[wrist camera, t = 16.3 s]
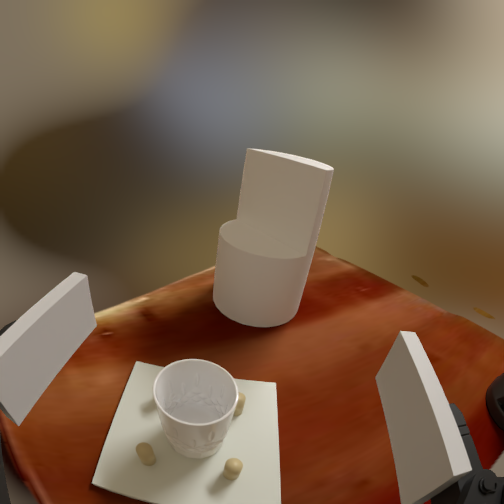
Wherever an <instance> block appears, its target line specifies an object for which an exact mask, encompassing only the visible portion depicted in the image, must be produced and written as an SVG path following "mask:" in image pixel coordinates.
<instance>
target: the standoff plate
mask: <svg viewBox="0 0 504 504" xmlns="http://www.w3.org/2000/svg"><path fill="white" fill-rule="evenodd" d="M163 368H164V367H161V366H156V365H151V364H147V363H143V362H138V361H136V363H135V366H134V368H133V371H132V373H131V375H130V378H129V380H128V383H127V385H126V388H125V390H124V393H123V395H122V398H121V401H120V403H119V406H118V408H117V411H116V414H115V416H114V419H113V422H112V425H111V427H110V430H109V433H108V436H107V438H106V441H105V444H104V447H103V450H102V453H101V456H100V459H99V462H98V465H97V468H96V471H95V474H94V477H93V481H92V484H94V485H95V486H98V487H100V488H103V489H106V490H108V491H111V492H114V493H117V494H120V495H124V496H127V497H130V498H133V499H137V500H141V501H144V502H148V503H152V504H281V489H280V461H279V437H278V416H277V396H276V383H271V382H260V381H250V380H241V379H234V380H235V382H236V384H237V387H238V392H239V397H238V402H237V405H236V408H235V412H234V415H233V418H232V421H231V424H230V427H229V430H228V432H227V435H226V437H225V438H224V440H223V444H222V447H221V448H220V449H219V450H218V451H217V452H216V453H215V454H214V455H212V456H209V457H205V458H202V459H195V458H187V457H185V456H183V455H181V454H179V453H177V452H175V450H174V449H173V448H172V447H171V445H170V444H169V443H168V441H167V437H166V435H165V433H164V431H163V428H162V425H161V422H160V419H159V416H158V412H157V408H156V405H155V401H154V398H153V392H152V388H153V383H154V380H155V378H156V376H157V374H158V373H159V372H160V371H161V370H162V369H163Z"/></svg>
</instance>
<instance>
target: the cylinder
mask: <svg viewBox="0 0 504 504" xmlns="http://www.w3.org/2000/svg"><path fill="white" fill-rule="evenodd" d="M333 171H334V169H333V168H332V167H331V166H329V165H326V164H324V163H321V162H317V161H314V160H311V159H307V158H304V157H299V156H295V155H290V154H286V153H280V152H274V151H267V150H260V149H249V148H247V152H246V158H245V165H244V171H243V178H242V185H241V191H240V198H239V206H238V212H237V219H236V220H232V221H229V222H227V223H225V224H223V225H222V226H221V228H220V232H219V241H218V249H217V259H216V268H215V277H214V287H213V301H214V303H215V305H216V307H217V308H218V309H219V310H220V311H221V313H222V314H224V315H225V316H227V317H228V318H230V319H231V320H234V321H236V322H239V323H241V324H244V325H249V326H254V327H273V326H279V325H281V324H284V323H286V322H288V321H290V320H291V319H292V318H293V317H294V316H295V314H296V312H297V310H298V307H299V303H300V300H301V297H302V293H303V290H304V286H305V283H306V279H307V276H308V272H309V268H310V265H311V261H312V257H313V254H314V250H315V246H316V242H317V238H318V235H319V231H320V226H321V223H322V219H323V215H324V210H325V206H326V202H327V198H328V194H329V189H330V185H331V180H332V175H333Z"/></svg>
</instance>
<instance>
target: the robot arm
mask: <svg viewBox="0 0 504 504" xmlns="http://www.w3.org/2000/svg"><path fill="white" fill-rule="evenodd" d="M96 326H97V325H96V320H95V316H94V311H93V307H92V301H91V295H90V289H89V283H88V277H87V275H84V274H81V273H77V272H74V273H72V274H71V275H70V276H69V277H67V278H66V279H65V280H64V281H62V282H61V283H60V284H59V285H57V286H56V287H55V288H54V289H53V290H51V291H50V292H49V293H48V294H47V295H46V296H44V297H43V298H42V299H41V300H40V301H39V302H37V303H36V304H35V305H34V306H33V307H32V308H30V309H29V310H28V311H27V312H26V313H25V314H24V315H23V316H21V317H20V318H19V319H18V320H17V321H14V322H12V323H10V324H8V325H6V326H5V327H3V329H1V330H0V409H1V410H2V411H3V413H4V414H5V415H6V417H8V418H9V419H10V420H12V421H13V422H14V423H15V424H17V425H18V426H19V425H20V424H21V423H22V421H23V420H24V418H25V417H26V415H27V414H28V413H29V411H30V410H31V408H32V407H33V406H34V404H35V403H36V401H37V400H38V399H39V397H40V396H41V395H42V393H43V392H44V391H45V389H46V388H47V387H48V385H49V384H50V383H51V381H52V380H53V379H54V377H55V376H56V375H57V374H58V372H59V371H60V370H61V368H62V367H63V366H64V365H65V363H66V362H67V361H68V360H69V358H70V357H71V356H72V355H73V353H74V352H75V351H76V350H77V349H78V347H79V346H80V345H81V344H82V342H83V341H84V340H85V339H86V338H87V336H88V335H89V334H90V333H91V332H92V331H93V329H94V328H95V327H96ZM375 378H376V382H377V386H378V390H379V393H380V397H381V401H382V405H383V410H384V414H385V418H386V422H387V427H388V431H389V436H390V441H391V446H392V451H393V456H394V461H395V467H396V472H397V478H398V484H399V491H400V498H401V504H422V503H424V502H426V501H428V500H429V499H431V504H504V477H497V476H496V475H495V473H493V472H492V471H491V470H487V469H484V470H483V468H482V466H481V463H480V460H479V457H478V454H477V451H476V448H475V445H474V443H473V440H472V437H471V435H469V433H470V432H469V429H468V427H467V426H466V422H465V419H464V417H463V414H462V412H461V411H460V410H459V409H458V408H457V406H456V405H455V404H454V403H453V404H448V401H447V399H446V396H445V394H444V392H443V390H442V387H441V385H440V383H439V380H438V378H437V376H436V374H435V372H434V370H433V367H432V365H431V363H430V361H429V359H428V357H427V355H426V353H425V351H424V349H423V347H422V345H421V343H420V341H419V339H418V337H417V335H416V333H415V332H406V331H400V332H399V334H398V336H397V338H396V340H395V342H394V344H393V346H392V348H391V350H390V352H389V354H388V356H387V358H386V359H385V361H384V363H383V365H382V367H381V368H380V370H379V372H378V374H377V375H376V377H375ZM486 402H487V406H488V409H489V412H490V414H491V416H492V418H493V419H494V421H495V422H496V423H497V425H498V426H499V427H500V428H501V429H503V430H504V373H503V374H501V375H500V376H498V377H497V378H496V379H495V380H494V381H493V382H492V384H491V385H490V386H489V388H488V389H487V393H486ZM0 504H11V503H10V498H9V494H8V489H7V484H6V479H5V473H4V466H3V459H2V449H1V438H0Z"/></svg>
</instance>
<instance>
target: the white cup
mask: <svg viewBox="0 0 504 504" xmlns="http://www.w3.org/2000/svg"><path fill="white" fill-rule="evenodd" d="M152 392H153V398H154V401H155V405H156V408H157V412H158V416H159V419H160V422H161V425H162V428H163V431H164V433H165V435H166V437H167V441H168V443H169V444H170V445H171V447H172V448H173V449H174V450H175V452H177V453H179V454H181V455H183V456H185V457H187V458H195V459H202V458H205V457H209V456H212V455H214V454H215V453H216V452H217V451H218V450H219V449H220V448H221V447H222V444H223V440H224V438H225V437H226V435H227V432H228V430H229V427H230V424H231V421H232V418H233V415H234V412H235V408H236V405H237V402H238V397H239V392H238V387H237V384H236V382H235V380H234V378H233V377H232V376H231V375H230V374H229V373H228V372H227V371H226V370H225V369H224V368H222V367H220V366H219V365H217V364H215V363H212V362H209V361H205V360H200V359H185V360H180V361H176V362H173V363H171V364H169V365H167V366H166V367H164V368H163V369H162V370H161V371H160V372H159V373H158V374H157V376H156V378H155V380H154V383H153V388H152Z"/></svg>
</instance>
